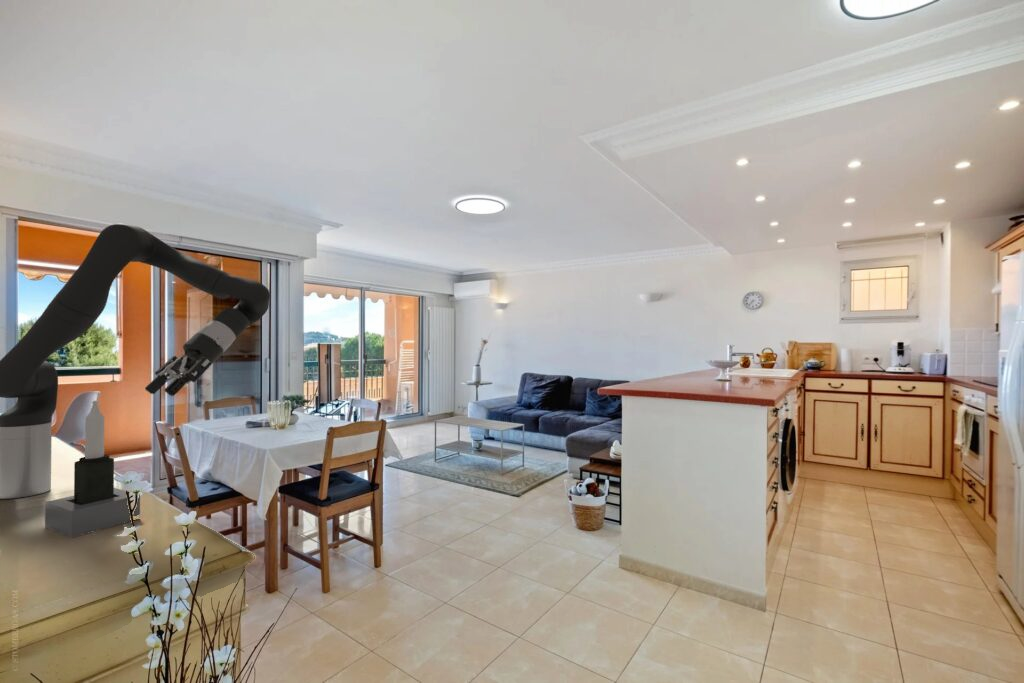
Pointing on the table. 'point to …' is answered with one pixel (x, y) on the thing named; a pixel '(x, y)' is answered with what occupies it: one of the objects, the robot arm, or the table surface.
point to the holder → (87, 514)
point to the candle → (94, 463)
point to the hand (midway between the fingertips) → (158, 392)
